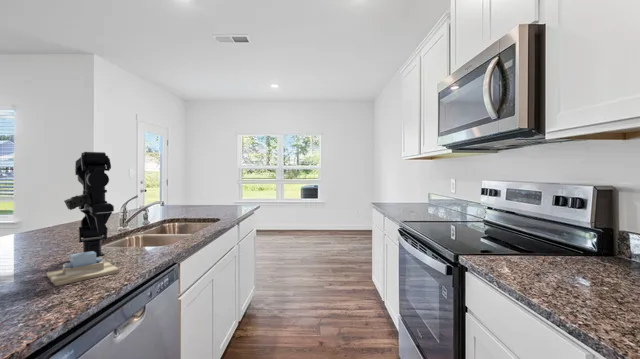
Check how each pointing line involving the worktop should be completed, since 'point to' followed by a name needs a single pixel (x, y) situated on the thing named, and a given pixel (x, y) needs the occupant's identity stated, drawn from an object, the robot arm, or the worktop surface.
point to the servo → (82, 259)
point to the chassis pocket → (81, 273)
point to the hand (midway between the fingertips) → (96, 230)
